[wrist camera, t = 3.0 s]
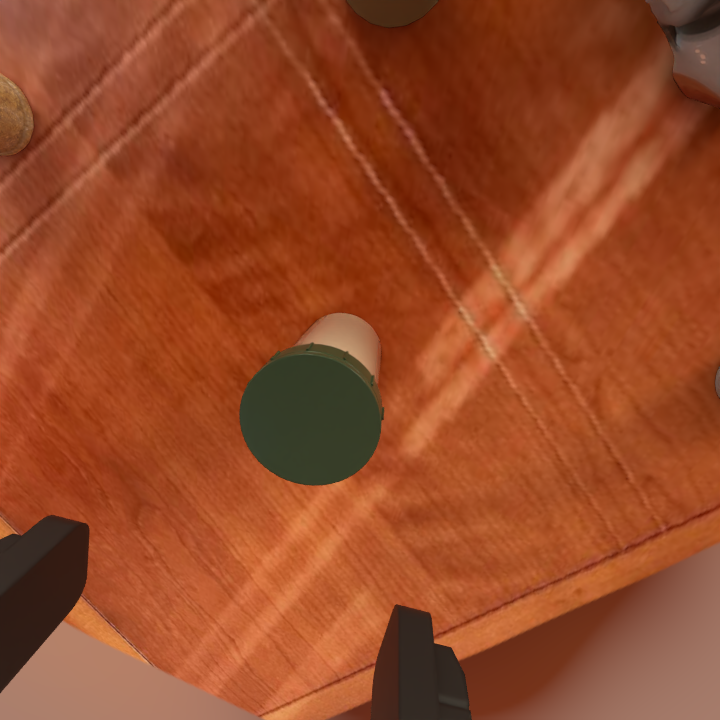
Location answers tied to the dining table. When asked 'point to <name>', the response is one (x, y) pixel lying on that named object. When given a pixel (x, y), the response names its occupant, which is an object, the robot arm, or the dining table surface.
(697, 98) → the lucky cat figurine
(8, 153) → the sprinkles bottle
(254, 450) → the lid
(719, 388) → the container
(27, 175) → the dining table surface
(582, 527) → the dining table surface
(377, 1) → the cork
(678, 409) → the dining table surface
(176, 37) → the dining table surface
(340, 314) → the jar
